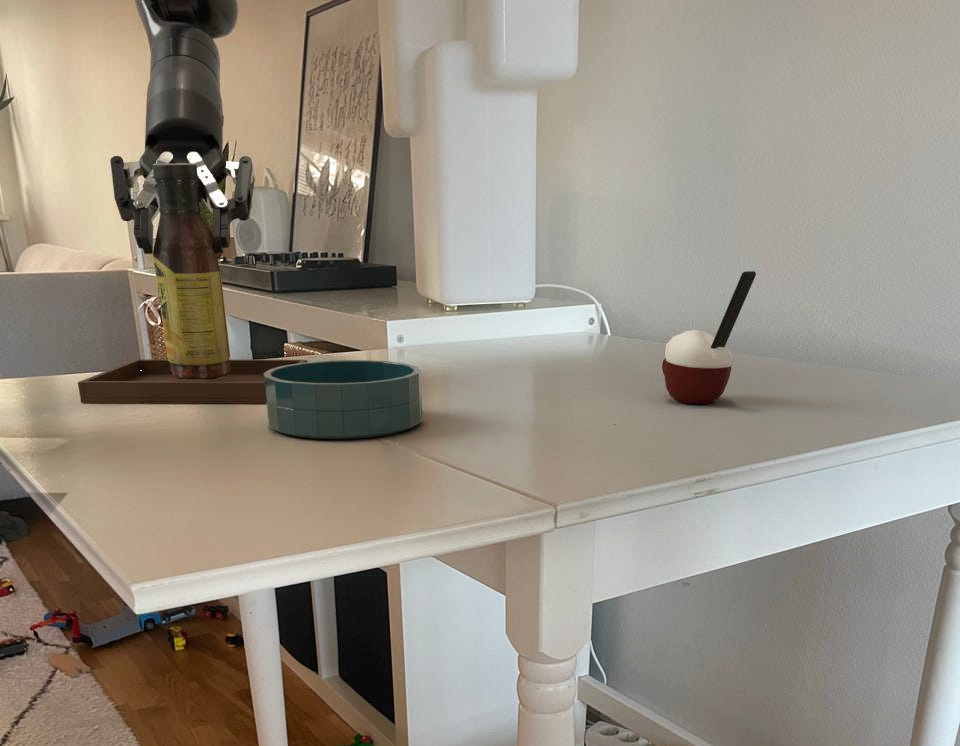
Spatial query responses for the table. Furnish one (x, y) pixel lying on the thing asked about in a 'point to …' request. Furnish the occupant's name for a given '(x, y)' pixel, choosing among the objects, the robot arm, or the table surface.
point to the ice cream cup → (704, 355)
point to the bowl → (343, 398)
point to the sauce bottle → (188, 279)
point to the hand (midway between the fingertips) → (182, 247)
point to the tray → (178, 384)
